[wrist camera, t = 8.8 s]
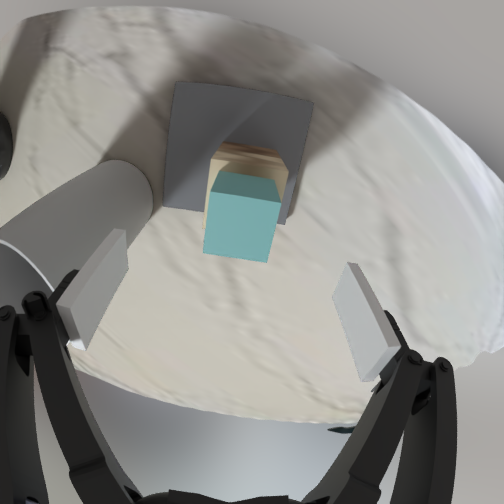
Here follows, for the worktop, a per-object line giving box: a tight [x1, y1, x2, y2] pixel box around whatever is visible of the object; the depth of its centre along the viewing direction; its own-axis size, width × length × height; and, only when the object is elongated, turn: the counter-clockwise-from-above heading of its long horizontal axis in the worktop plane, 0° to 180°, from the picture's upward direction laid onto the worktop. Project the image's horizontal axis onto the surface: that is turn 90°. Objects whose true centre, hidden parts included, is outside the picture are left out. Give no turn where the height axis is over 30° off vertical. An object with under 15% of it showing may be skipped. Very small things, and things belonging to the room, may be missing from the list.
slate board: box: [163, 82, 314, 225], centre depth 35 cm, size 18×18×2 cm
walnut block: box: [219, 141, 281, 159], centre depth 33 cm, size 7×7×6 cm
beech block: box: [202, 148, 289, 229], centre depth 27 cm, size 7×7×6 cm
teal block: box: [203, 171, 281, 263], centre depth 22 cm, size 5×5×6 cm
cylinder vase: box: [0, 160, 153, 346], centre depth 27 cm, size 12×12×25 cm
